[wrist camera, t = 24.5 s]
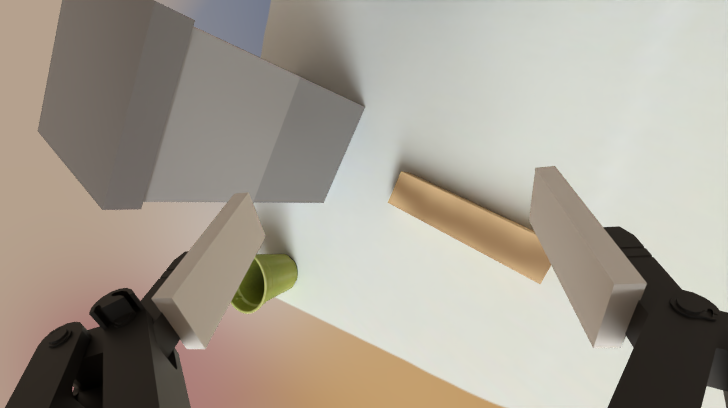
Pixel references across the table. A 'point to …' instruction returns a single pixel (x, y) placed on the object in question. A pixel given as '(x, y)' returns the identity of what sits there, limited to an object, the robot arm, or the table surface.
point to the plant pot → (264, 281)
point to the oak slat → (472, 225)
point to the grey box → (183, 112)
